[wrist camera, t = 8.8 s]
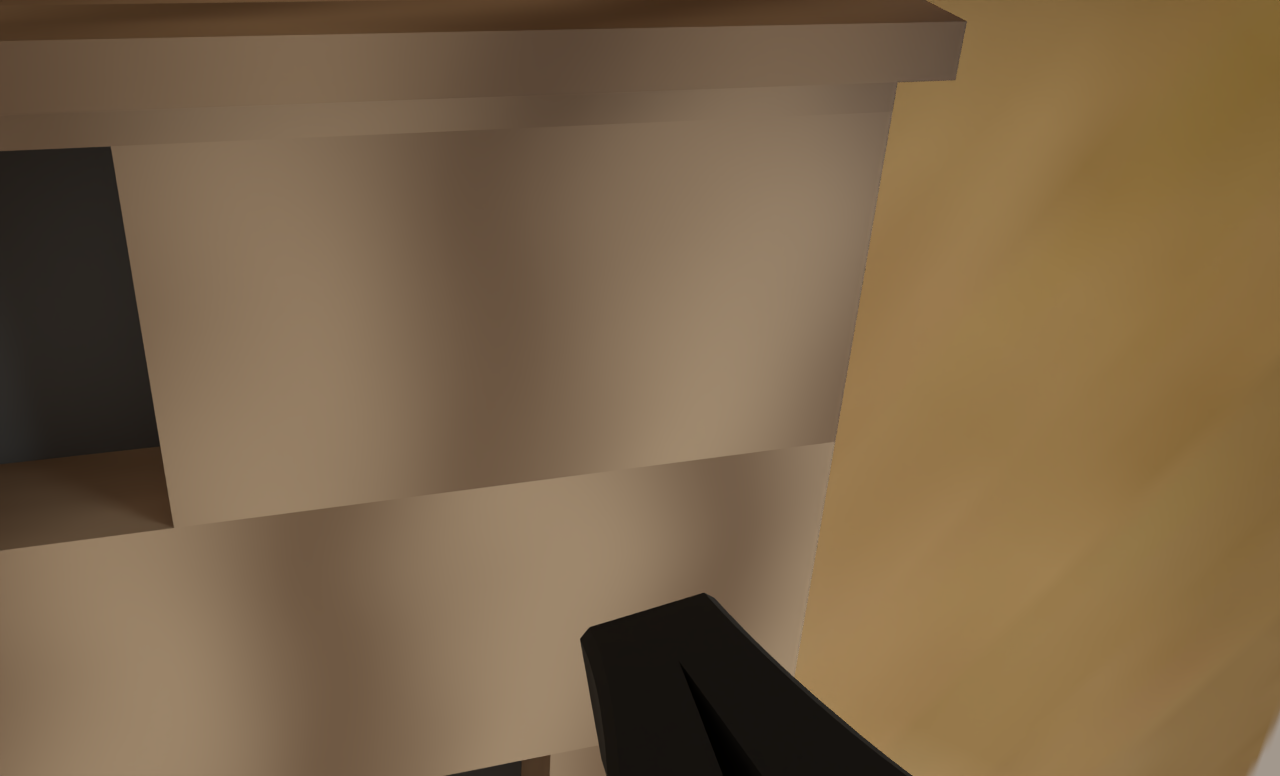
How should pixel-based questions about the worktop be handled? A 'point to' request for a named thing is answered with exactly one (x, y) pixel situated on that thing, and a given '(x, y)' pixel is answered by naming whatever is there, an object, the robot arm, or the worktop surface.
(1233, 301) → the worktop surface
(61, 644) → the trap box
